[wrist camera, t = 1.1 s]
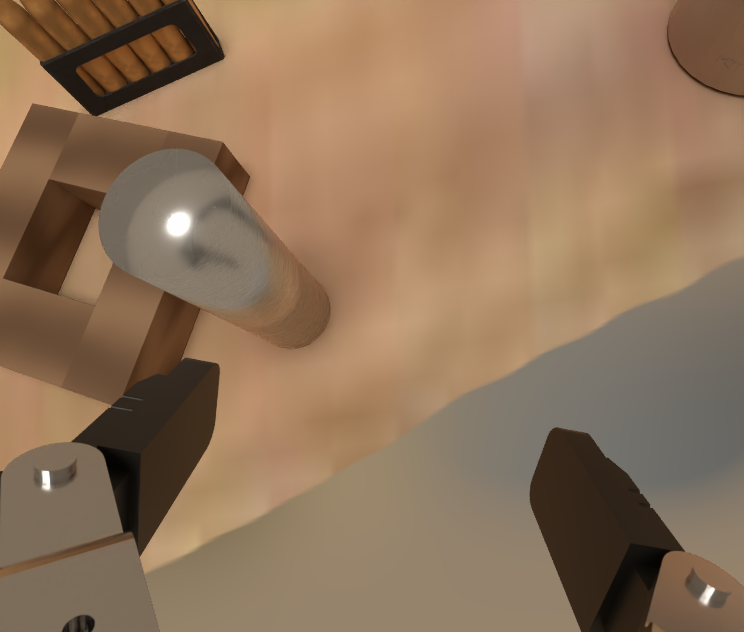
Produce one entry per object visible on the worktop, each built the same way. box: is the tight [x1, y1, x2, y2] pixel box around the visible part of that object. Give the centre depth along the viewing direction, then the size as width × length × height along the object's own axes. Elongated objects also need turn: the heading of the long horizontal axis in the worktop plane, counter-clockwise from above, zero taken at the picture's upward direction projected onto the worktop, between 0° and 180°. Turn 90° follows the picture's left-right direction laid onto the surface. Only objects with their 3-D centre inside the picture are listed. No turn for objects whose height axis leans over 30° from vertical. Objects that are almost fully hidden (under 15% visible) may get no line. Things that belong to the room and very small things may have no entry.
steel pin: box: [99, 149, 330, 349], centre depth 22 cm, size 5×5×14 cm
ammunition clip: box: [0, 0, 224, 116], centre depth 29 cm, size 11×2×12 cm, turn 111°
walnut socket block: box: [0, 103, 250, 405], centre depth 30 cm, size 16×14×4 cm
